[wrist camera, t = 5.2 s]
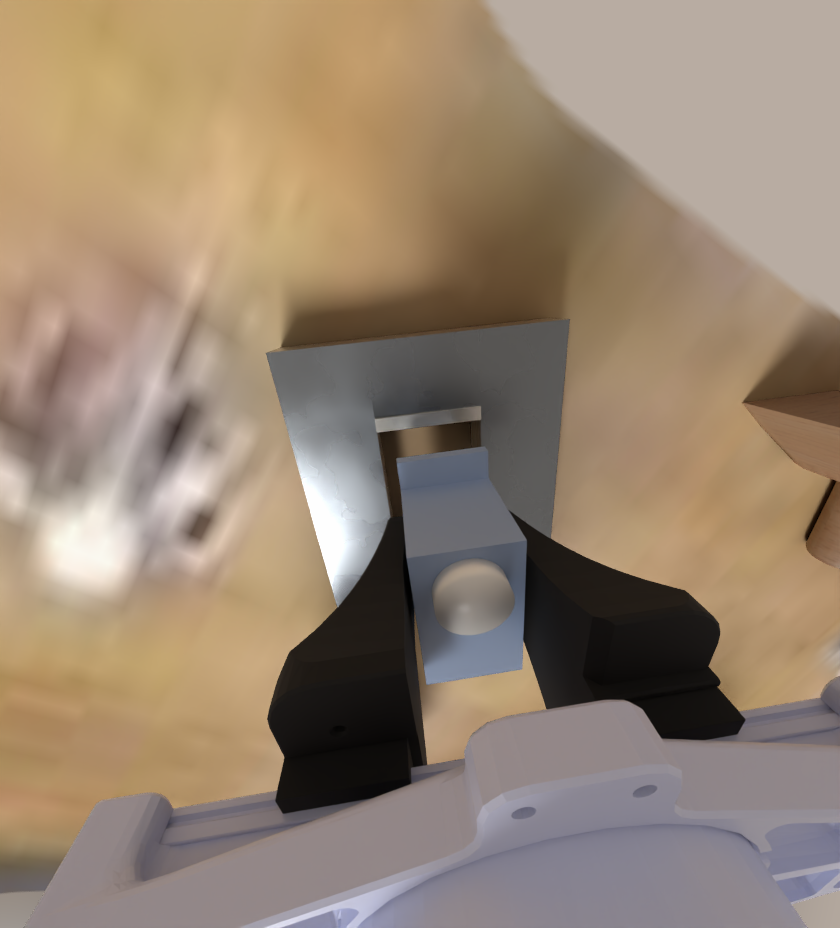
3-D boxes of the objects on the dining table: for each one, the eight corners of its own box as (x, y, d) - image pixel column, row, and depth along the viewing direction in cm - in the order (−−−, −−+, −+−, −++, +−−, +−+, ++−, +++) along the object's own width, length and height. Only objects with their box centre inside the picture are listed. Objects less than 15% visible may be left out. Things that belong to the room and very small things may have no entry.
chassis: (533, 558, 21) (547, 583, 19) (342, 586, 21) (338, 614, 19) (547, 317, 15) (570, 318, 13) (280, 347, 15) (265, 353, 13)
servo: (476, 562, 16) (528, 709, 10) (414, 571, 16) (432, 725, 10) (469, 425, 13) (538, 520, 7) (394, 435, 13) (402, 540, 7)
